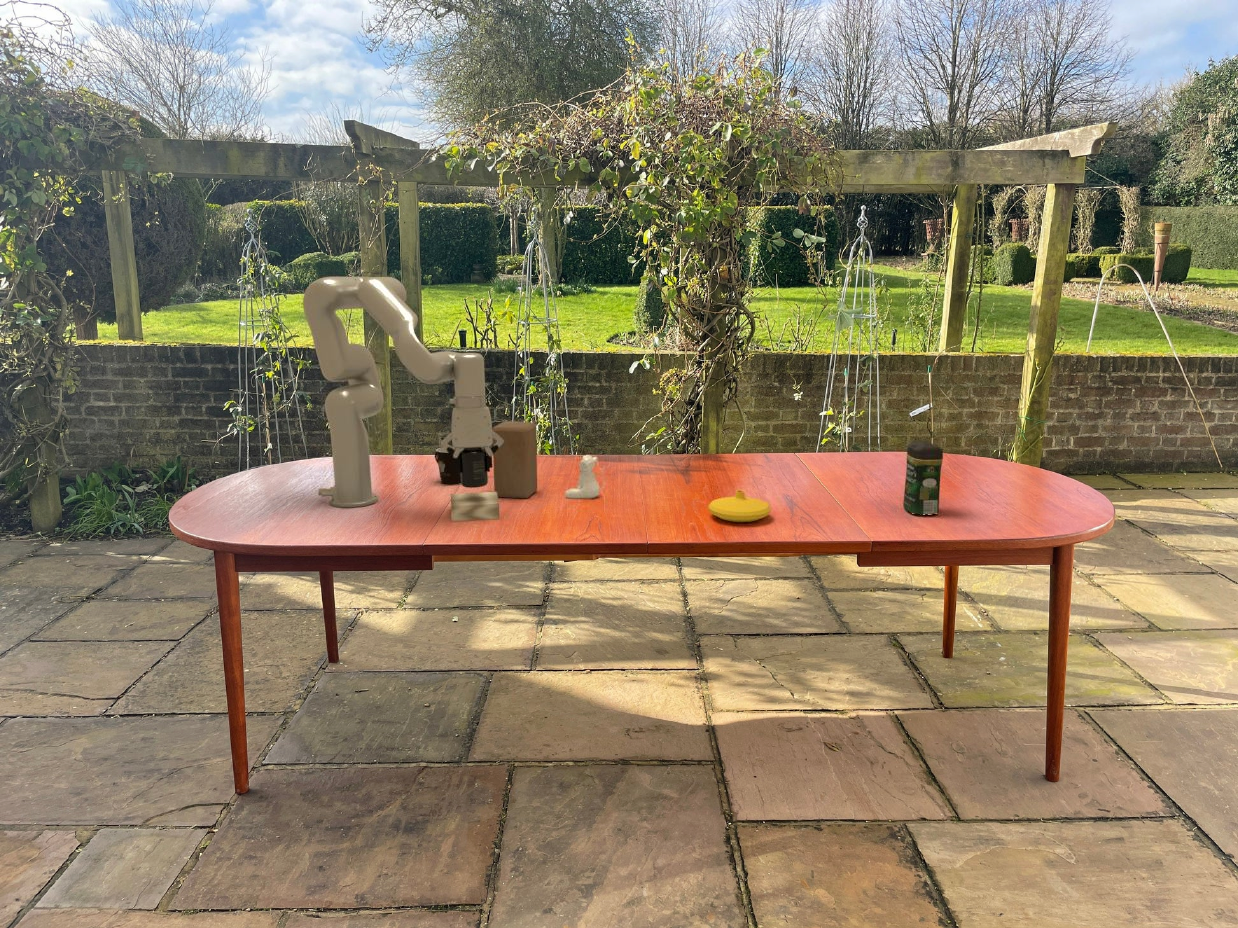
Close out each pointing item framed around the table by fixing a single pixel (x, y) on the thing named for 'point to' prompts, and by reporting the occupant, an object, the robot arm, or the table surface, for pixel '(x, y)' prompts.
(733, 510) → the vase
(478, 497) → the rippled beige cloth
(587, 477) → the seated beast figurine
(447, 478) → the coffee mug
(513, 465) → the block
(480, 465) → the supplement bottle
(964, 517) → the table surface
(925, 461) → the coffee jar
